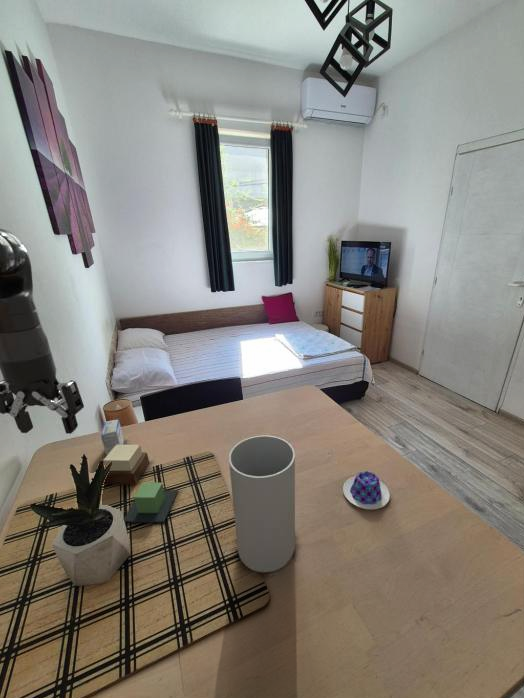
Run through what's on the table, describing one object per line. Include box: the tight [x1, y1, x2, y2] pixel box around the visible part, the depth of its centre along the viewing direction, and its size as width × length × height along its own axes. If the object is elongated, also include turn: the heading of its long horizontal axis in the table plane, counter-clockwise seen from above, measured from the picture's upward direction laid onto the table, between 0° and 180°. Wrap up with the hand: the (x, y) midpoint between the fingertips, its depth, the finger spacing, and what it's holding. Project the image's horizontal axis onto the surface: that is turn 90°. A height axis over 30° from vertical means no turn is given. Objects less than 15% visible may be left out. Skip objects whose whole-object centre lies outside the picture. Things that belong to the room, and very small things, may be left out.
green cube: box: [133, 482, 165, 513], centre depth 81 cm, size 5×5×5 cm
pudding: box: [342, 470, 391, 510], centre depth 85 cm, size 12×12×5 cm
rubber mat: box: [123, 490, 179, 524], centre depth 82 cm, size 10×10×1 cm
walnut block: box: [103, 451, 150, 486], centre depth 93 cm, size 9×9×4 cm
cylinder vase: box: [228, 434, 296, 573], centre depth 67 cm, size 12×12×25 cm
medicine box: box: [100, 419, 125, 456], centre depth 102 cm, size 8×4×9 cm, turn 22°
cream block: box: [102, 444, 143, 471], centre depth 91 cm, size 7×7×4 cm
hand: (49, 431), depth 63 cm, fingers open, 8 cm apart
